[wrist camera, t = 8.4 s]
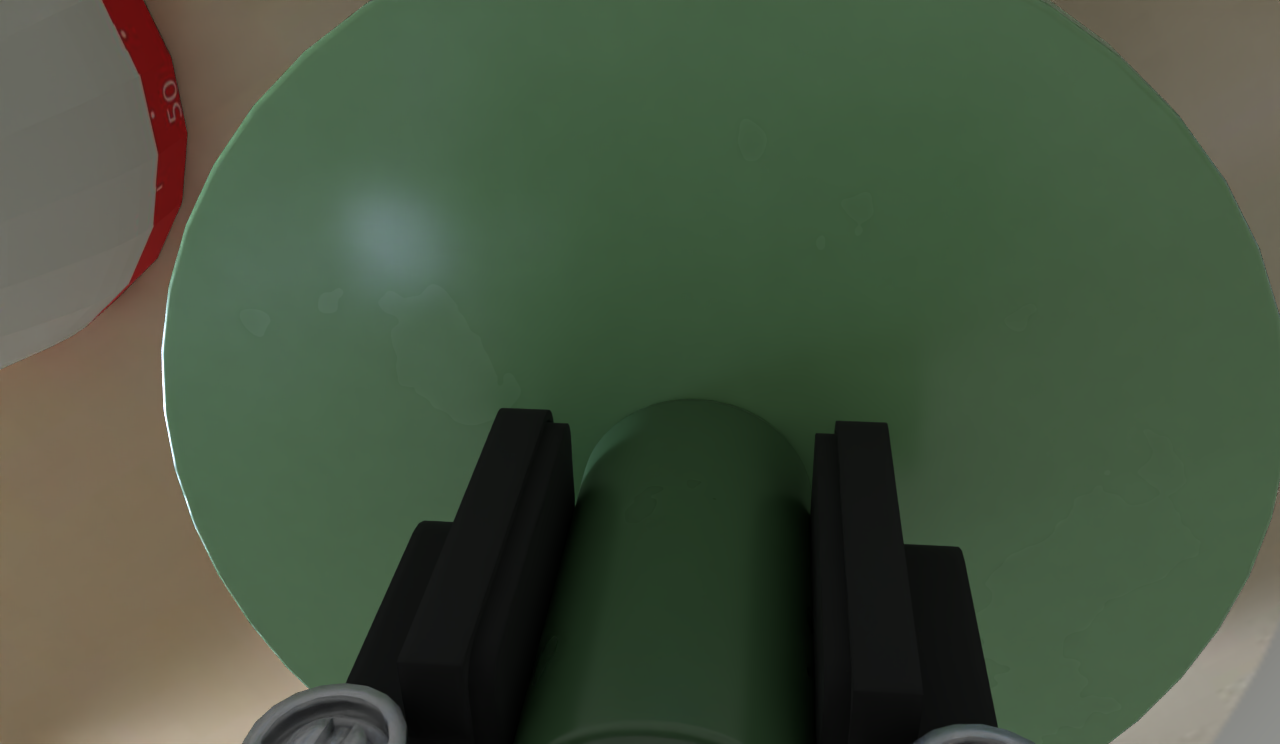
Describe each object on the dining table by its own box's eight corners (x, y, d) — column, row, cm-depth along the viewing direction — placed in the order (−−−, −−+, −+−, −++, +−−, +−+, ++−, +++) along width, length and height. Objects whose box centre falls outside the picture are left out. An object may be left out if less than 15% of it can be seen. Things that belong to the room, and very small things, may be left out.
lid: (295, 761, 18) (101, 1181, 13) (89, -106, 12) (-431, 44, 7) (1138, 821, 17) (1291, 1314, 12) (1395, -118, 11) (1952, 58, 6)
